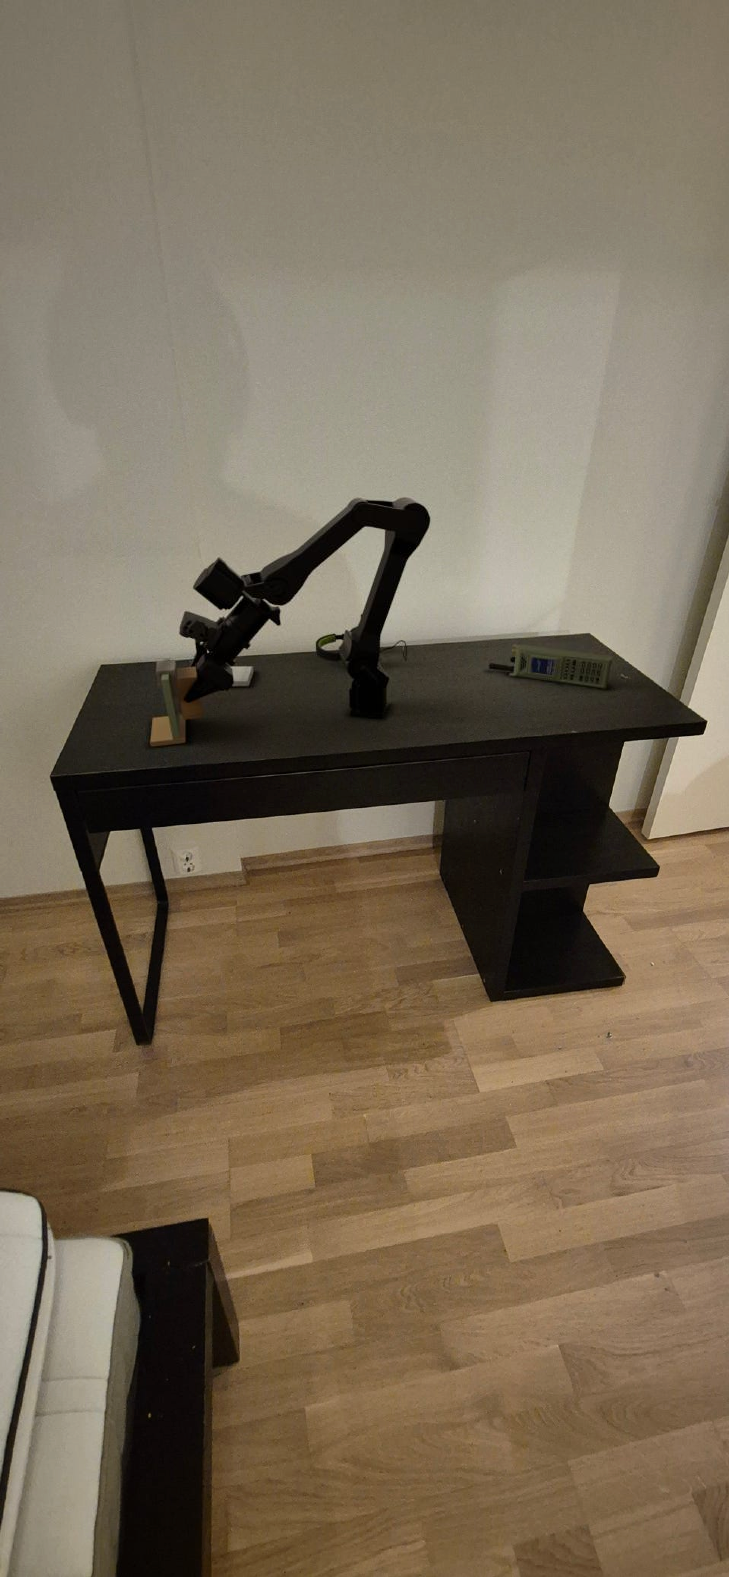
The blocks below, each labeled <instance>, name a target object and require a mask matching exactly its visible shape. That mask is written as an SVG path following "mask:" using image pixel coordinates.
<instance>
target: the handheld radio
mask: <svg viewBox="0 0 729 1577" xmlns="http://www.w3.org/2000/svg"><path fill="white" fill-rule="evenodd" d="M513 647H514V648H513ZM511 653H512V654H515V656H511V657H510V658H509V661H510V662H511V663H513V664H514V665H506V664H500V663H493V662H490V663H489V664H488V669H489V670H494V671H503V672H509V674H508V676H509V677H511V676H512V677H515V678H516V677H517V678H523V679H530V680H538V681H546V682H552V683H559V684H566V685H572V686H573V685H575V686H580V687H587V688H595V689H603V690H607V686H608V682H609V677H610V671H611V667H612V661H613V656H612V655H607V654H606V655H605V654H599V653H591V652H590V653H589V652H582V651H574V650H573V651H572V650H567V649H566V650H565V649H556V648H551V647H550V648H548V647H542V646H541V647H540V646H533V645H526V644H514V643H513V644H512V649H511Z"/></svg>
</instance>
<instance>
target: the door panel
mask: <svg viewBox="0 0 729 1577" xmlns="http://www.w3.org/2000/svg"><path fill="white" fill-rule="evenodd" d="M166 660H171V658H163V659H162V661H166ZM161 681H162V685H161V686H162V692H163V696H164V701H165V702H164V703H165V708H166V712H167V716H157V717H152V722H151V732H150V741H149V742H150V747H162V746H170V745H171V746H172V745H178V744H186V733H187V732H186V726H187V725H186V722H187V721H186V720H187V719H185V720H183V716H182V714H181V712H179V713H176V709H175V704H174V698H173V692H172V686H171V681H170V675H169V674H162V679H161Z"/></svg>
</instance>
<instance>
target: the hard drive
mask: <svg viewBox="0 0 729 1577" xmlns="http://www.w3.org/2000/svg"><path fill="white" fill-rule="evenodd" d="M230 667H231V668H232V671H233V678H234V684H233V685H232V686H231V687H249V686H250V683H251V681H252V677H253V674H254V667H253V666H230Z"/></svg>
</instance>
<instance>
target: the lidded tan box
mask: <svg viewBox="0 0 729 1577" xmlns="http://www.w3.org/2000/svg"><path fill="white" fill-rule="evenodd" d="M155 674H156V680H157V685H158V686H159V687H161V686H162V681H161V679H162V674H169V675H170V681H171V686H172V692H173V698H174V704H175V709H176V713H179V712H180V713H181V715H182V716H183V720H185V719H186V720H194V719H203V718H204V705H203V697H202V698H199V699H197V700H195V701H192V702H190V703H187V702H186V701H184V697H185V695H186V693H187V691H188V690H189V688H190V686H191V685H192V683H193V681H194V680H195V678H196V676H197V673H196V667H178V668H177V663H176V659H170V660H166V661H163V660H157V661H156V669H155Z"/></svg>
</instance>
